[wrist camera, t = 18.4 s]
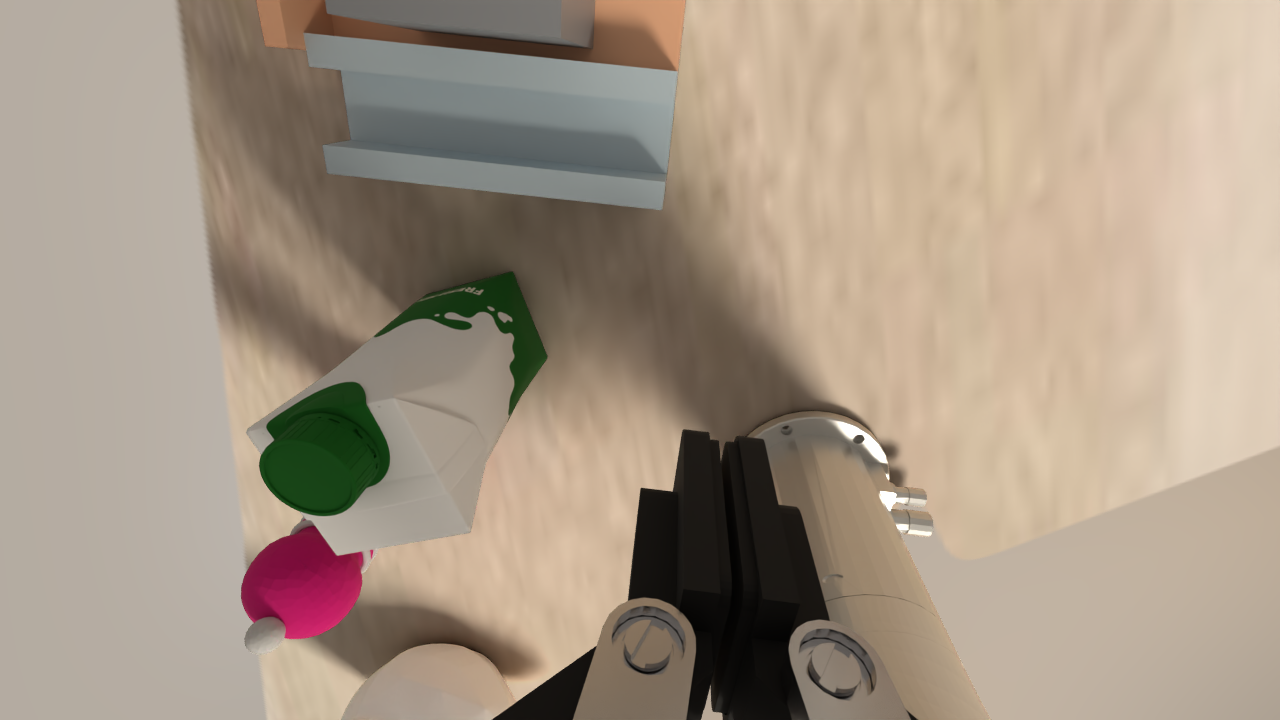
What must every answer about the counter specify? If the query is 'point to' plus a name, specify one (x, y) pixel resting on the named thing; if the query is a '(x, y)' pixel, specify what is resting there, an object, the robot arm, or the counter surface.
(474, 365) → the milk carton
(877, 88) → the counter surface
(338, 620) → the pepper mill
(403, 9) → the panel
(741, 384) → the counter surface
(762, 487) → the robot arm
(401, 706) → the decorative rooster
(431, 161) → the rack
